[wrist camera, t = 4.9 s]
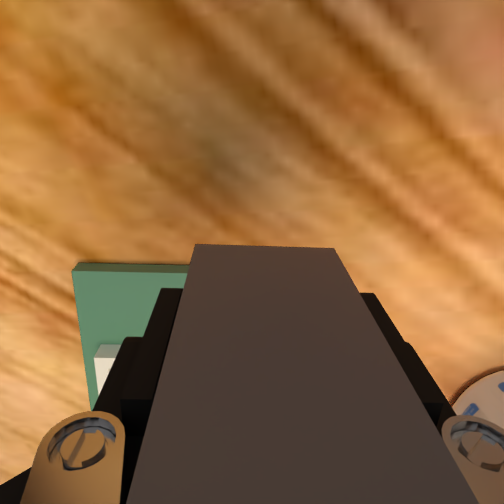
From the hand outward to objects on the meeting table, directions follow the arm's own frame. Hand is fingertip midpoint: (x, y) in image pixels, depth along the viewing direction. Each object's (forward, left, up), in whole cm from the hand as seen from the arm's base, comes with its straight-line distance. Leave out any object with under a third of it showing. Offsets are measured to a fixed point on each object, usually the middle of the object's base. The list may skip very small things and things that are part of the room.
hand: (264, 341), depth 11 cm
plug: (0, 0, -2) cm, 2 cm away
